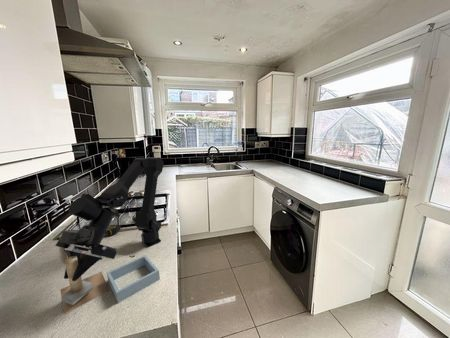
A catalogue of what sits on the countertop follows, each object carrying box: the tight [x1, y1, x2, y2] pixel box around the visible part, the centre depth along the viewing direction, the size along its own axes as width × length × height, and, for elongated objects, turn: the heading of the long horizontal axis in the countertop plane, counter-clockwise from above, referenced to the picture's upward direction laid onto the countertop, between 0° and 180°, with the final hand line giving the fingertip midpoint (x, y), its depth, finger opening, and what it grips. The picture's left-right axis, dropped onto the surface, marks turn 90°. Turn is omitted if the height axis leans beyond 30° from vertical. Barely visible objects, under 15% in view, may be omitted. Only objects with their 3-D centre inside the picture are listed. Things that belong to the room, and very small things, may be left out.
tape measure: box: [105, 224, 122, 237], centre depth 96 cm, size 7×7×4 cm
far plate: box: [60, 271, 110, 315], centre depth 60 cm, size 11×12×1 cm
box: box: [106, 254, 161, 304], centre depth 63 cm, size 13×12×4 cm
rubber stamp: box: [61, 256, 93, 305], centre depth 56 cm, size 6×4×12 cm, turn 162°
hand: (69, 279), depth 54 cm, fingers closed on rubber stamp, 3 cm apart
